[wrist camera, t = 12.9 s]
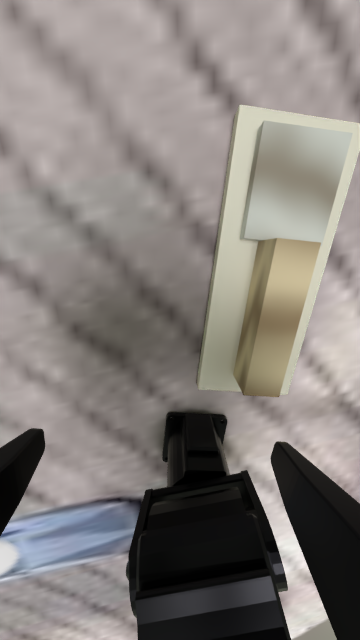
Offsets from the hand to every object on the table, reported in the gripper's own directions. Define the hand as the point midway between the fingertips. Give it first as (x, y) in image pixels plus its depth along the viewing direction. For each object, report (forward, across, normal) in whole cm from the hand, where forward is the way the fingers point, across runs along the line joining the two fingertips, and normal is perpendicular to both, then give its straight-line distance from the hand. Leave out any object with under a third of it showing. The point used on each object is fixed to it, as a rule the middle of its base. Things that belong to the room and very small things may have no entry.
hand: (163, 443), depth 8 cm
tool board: (+12, -8, -6) cm, 16 cm away
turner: (+11, -8, -6) cm, 15 cm away
